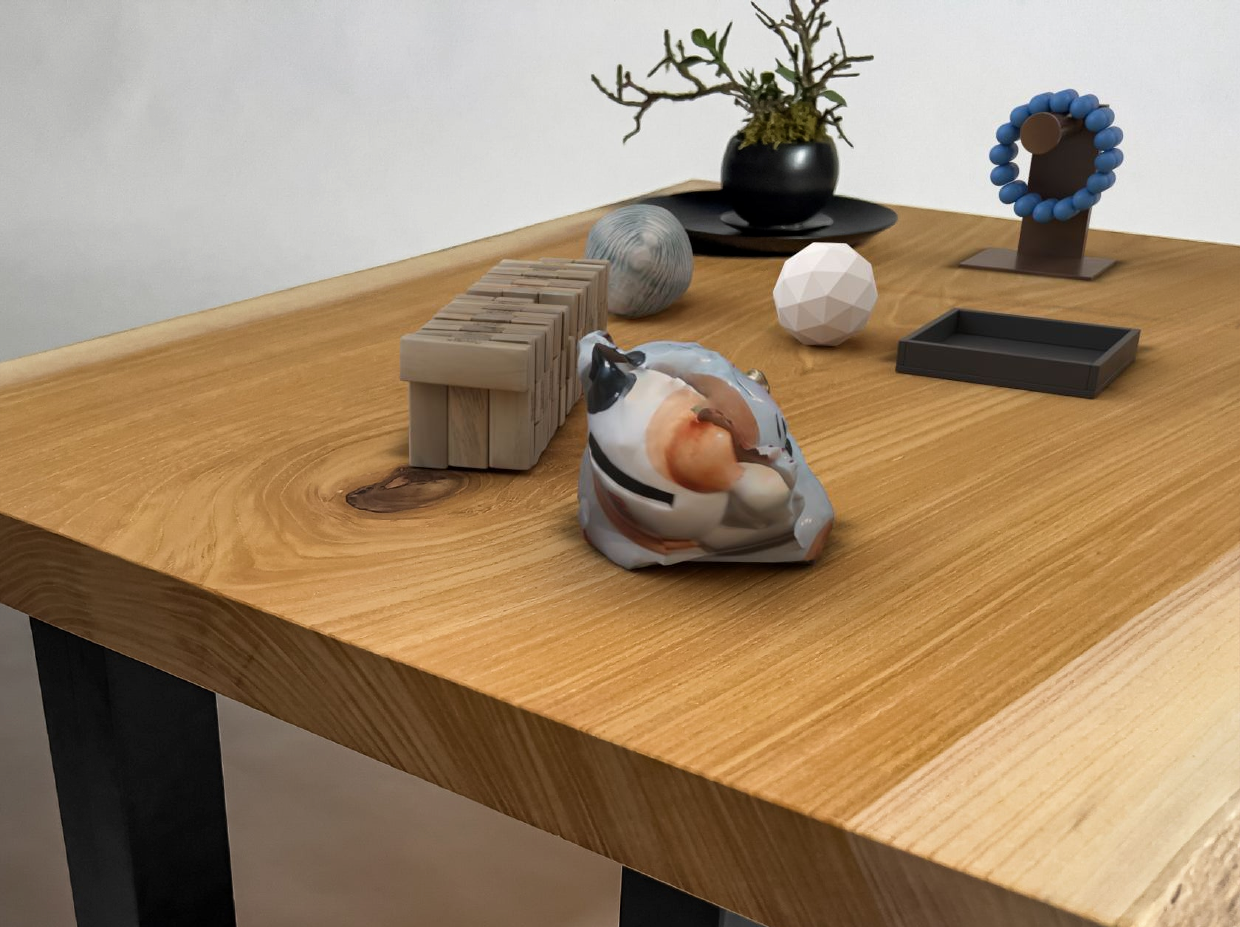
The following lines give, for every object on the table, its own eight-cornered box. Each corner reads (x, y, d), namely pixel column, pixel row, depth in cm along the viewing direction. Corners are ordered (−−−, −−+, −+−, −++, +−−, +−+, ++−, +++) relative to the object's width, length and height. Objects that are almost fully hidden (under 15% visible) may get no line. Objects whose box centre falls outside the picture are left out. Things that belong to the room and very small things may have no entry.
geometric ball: (844, 379, 126) (911, 306, 120) (763, 351, 122) (828, 273, 117) (822, 313, 130) (885, 239, 124) (743, 283, 126) (804, 206, 121)
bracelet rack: (1114, 272, 151) (1144, 105, 144) (1084, 294, 142) (1115, 116, 135) (987, 259, 156) (1010, 98, 149) (951, 279, 147) (973, 108, 141)
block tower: (505, 371, 121) (395, 472, 95) (507, 255, 117) (392, 328, 91) (608, 377, 119) (525, 482, 93) (613, 259, 115) (527, 335, 90)
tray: (1135, 359, 120) (1141, 329, 119) (1093, 399, 111) (1099, 365, 109) (949, 336, 127) (953, 307, 126) (894, 371, 117) (898, 340, 116)
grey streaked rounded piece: (584, 248, 143) (634, 151, 136) (676, 301, 143) (731, 207, 136) (542, 316, 133) (594, 216, 126) (642, 373, 134) (698, 276, 127)
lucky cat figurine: (885, 550, 83) (905, 345, 72) (715, 681, 80) (707, 488, 69) (688, 412, 91) (677, 206, 80) (526, 526, 88) (491, 328, 76)
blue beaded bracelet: (1114, 222, 147) (1137, 91, 142) (1101, 229, 143) (1125, 95, 138) (992, 212, 152) (1010, 84, 147) (977, 219, 149) (995, 89, 143)
